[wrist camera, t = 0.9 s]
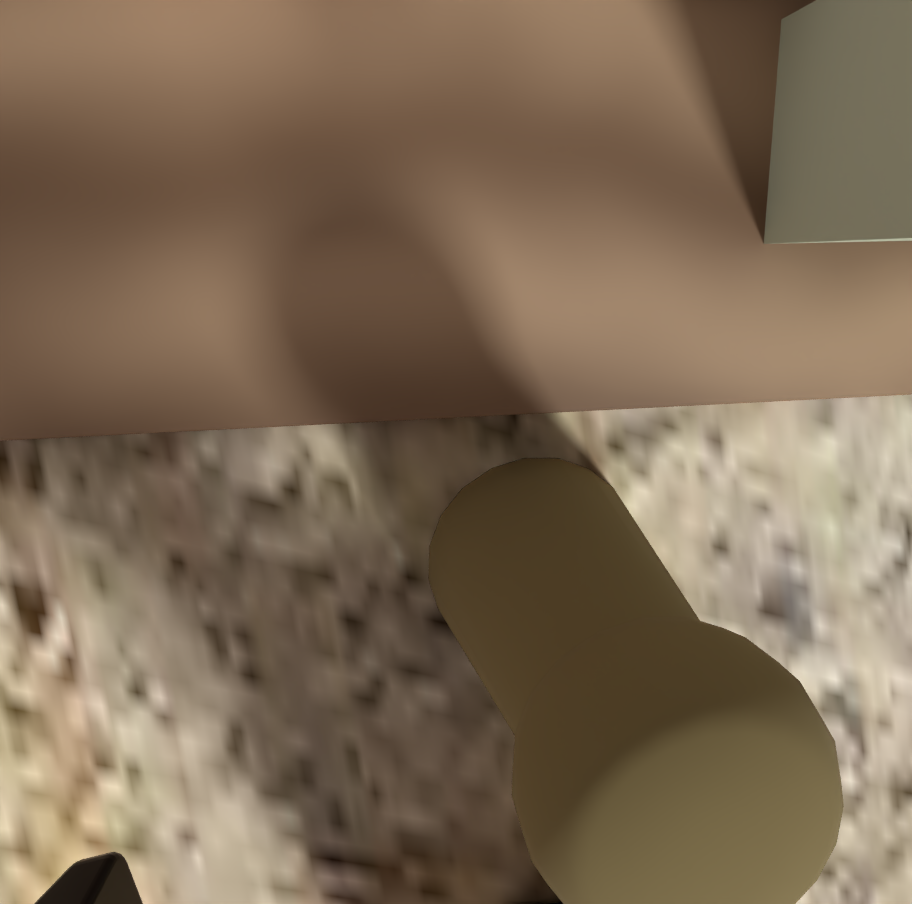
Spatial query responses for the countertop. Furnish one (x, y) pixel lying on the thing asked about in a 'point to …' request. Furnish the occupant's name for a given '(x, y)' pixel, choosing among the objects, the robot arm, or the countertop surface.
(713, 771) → the cork
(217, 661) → the countertop surface
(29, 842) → the countertop surface
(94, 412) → the shelf board
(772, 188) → the sage tin
